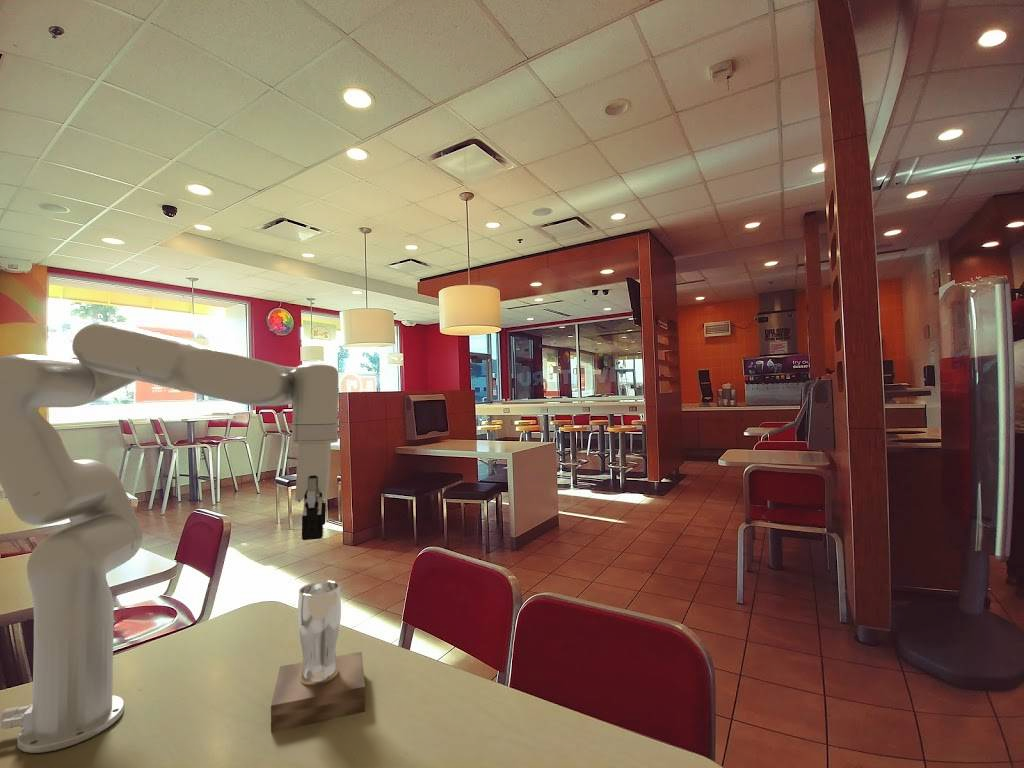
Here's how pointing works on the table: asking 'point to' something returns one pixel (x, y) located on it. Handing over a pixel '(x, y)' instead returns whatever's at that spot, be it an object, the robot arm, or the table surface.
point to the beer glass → (319, 631)
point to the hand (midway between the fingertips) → (314, 531)
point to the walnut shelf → (318, 694)
